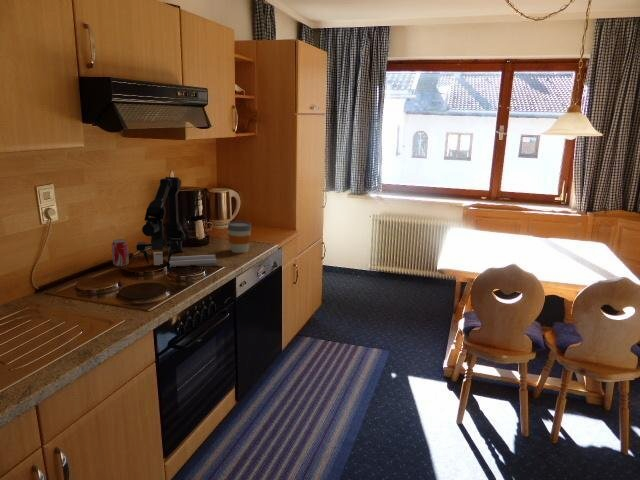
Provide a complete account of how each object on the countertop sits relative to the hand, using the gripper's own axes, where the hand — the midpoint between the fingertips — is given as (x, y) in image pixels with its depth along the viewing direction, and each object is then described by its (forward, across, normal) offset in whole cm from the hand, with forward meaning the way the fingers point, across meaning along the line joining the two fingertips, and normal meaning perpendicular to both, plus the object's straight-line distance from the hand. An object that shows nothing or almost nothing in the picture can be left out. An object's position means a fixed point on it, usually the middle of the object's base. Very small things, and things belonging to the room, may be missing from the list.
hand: (158, 262), depth 226 cm
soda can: (+2, -17, +4) cm, 18 cm away
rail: (+1, +16, -1) cm, 16 cm away
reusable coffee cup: (+1, +42, +19) cm, 46 cm away
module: (+1, 0, 0) cm, 1 cm away
